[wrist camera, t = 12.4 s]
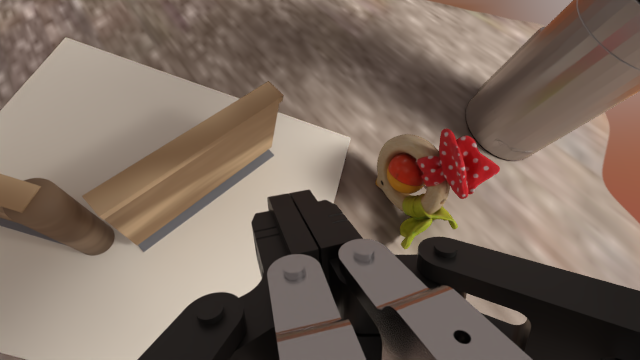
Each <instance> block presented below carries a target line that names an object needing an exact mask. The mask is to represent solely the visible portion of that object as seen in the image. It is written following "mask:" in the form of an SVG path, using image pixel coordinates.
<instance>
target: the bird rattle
mask: <svg viewBox="0 0 640 360" xmlns="http://www.w3.org/2000/svg"><path fill="white" fill-rule="evenodd" d="M499 170H500V168H499V166H498V165H496V164H495V163H494V162H493V161H491V160H490V159H488V158H487V157H485V156H484V155H482V154H481V153H480V152H479V151H478V149H477V145H476V142H475V140H474V139H473V138H472V137H469V136H463V137H460V138H458V139H457V140H456V138H455V136H454V134H453V132H452V131H451V130H449V129H444V130H442V132H441V136H440V145H439V151H438V150H437V149H436V148H435V147H434V146H433V145H432V144H431V143H429V142H428V141H427V140H425V139H423V138H421V137H419V136H415V135H409V134H405V135H400V136H397V137H394V138H392V139H390V140H389V141H387V142H386V143H385V144H384V146H383V147H382V149H381V151H380V154H379V157H378V163H377V171H378V177H377V179H376V185H377V186H378V187H379V188H381V189H382V190H383V191H384V193H385V195H386V196H387V197H388V199H389V200H390V201H391V202H392V203H393V204H394V205H395V206H396V207H397V208H399V209H400V210H401V211H403V212H404V213H405V214H406V215H408V216H411V218H408V219H406V220H405V221H403V223H402V224H401V226H400V234H401V235H402V236H404V237H406V238H405V239H404V240H403V241H402V243H401V245H402V247H403V248H404V249H407V248H408V247H409V246H410V244H411V242H412V240H413V239H414V237H415V236H416V235H418V234H420V233H421V232H423V231H425V230H426V229H427V228H428V227H429V226H430V225H431V223H432V220H435V219H443V220H448V221H449V223H450V225H451V227H452V228H453V229H456V228H457V227H458V226H457V224H456V222H455V221H454V219H453V218H452V216H451V215H450V214H449V213H448V212H447V211H446V210H445V209H444V208H443V207H442V206H443V204H444V203H445V201H446V199H447V197H448V194H449V189H450V186H451V188H452V190H453V191H454V192H455V193H456V194H457V195H458V197H459V198H461V199H464V198H466V197H467V196H468V194H472V193H473V192H474V190H475V188H476V187H477V186H478V185H479V184H481V183H482V182H484V181H485V180H487V179H489V178H491V177H492V176H494V175H496V174H497V173H498V172H499ZM425 185H426V186H425ZM423 186H424V188H425V189H427V191H426V194H421V195H417V196H411V195H409V194H411V193H414V192H417V191H418V190H420V189H421V188H422V187H423Z"/></svg>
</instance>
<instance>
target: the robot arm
mask: <svg viewBox="0 0 640 360" xmlns="http://www.w3.org/2000/svg"><path fill="white" fill-rule="evenodd" d="M639 91H640V0H573V1H572V2H571V3H570V4H569V5H568V6H567V7H566V8H565V9H564V10H563V11H562V12H561V13H560V14H559V15H558V16H557V17H556V18H554V20H552V21H551V22H550V24H548V25H547V26H546V27H542V28H540V29H539V30H538V31H537V32H536V33H535V34H534V35H533V36H532V37H531V38H530V39H529V40H528V41H527V42H526V43H525V44H524V45H523V46H522V47H521V48H520V49H519V50H518V51H517V52H516V53H515V54H514V55H513V56H512V57H511V58H510V59H509V60H508V61H507V62H506V63H505V64H504V65H503V66H502V67H501V68H500V69H499V70H498V71H497V72H495V73H494V74H493V75H492V76H491V77H490V78H489V79H488V80H487V81H486V82H485V83H484V84H483V85H482V86H481V87H480V88H479V93H478V94H477V95H476V96H475V97H473V98H472V100H471V101H470V102H469V103H468V106H467V109H466V119H467V124H468V126H469V129H470V131H471V133H472V134H473V136H474V138H475V139H476V140H477V141H478V143H479V144H480V145H481V146H483V147H484V148H485V149H486V150H487V151H489V152H490V153H492V154H493V155H495V156H497V157H500V158H502V159H506V160H512V161H518V160H523V159H525V158H527V157H529V156H531V155H532V154H534V153H536V152H537V151H539V150H541V149H543V148H544V147H546V146H548V145H549V144H551V143H553V142H555V141H556V140H558V139H560V138H562V137H563V136H565V135H567V134H568V133H570V132H572V131H573V130H575V129H577V128H578V127H580V126H582V125H584V124H585V123H587V122H589V121H590V120H592V119H594V118H595V117H597V116H599V115H601V114H602V113H604V112H606V111H607V110H609V109H611V108H612V107H614V106H616V105H618V104H619V103H621V102H623V101H624V100H626V99H628V98H629V97H631V96H633V95H634V94H636V93H637V92H639ZM267 202H268V210H269V211H265V212H260V213H255V215H254V218H253V220H252V222H251V224H252V230H253V237H254V243H255V250H256V256H257V261H258V265H259V269H260V274H261V277H262V279H261V281H260V282H259V284H258V285H257V286H256V287H255V288H254V289H253V290H251V291H250V292H248V293H247V294H245V295H243V296H241V297H239V298H238V297H237V296H235V295H234V294H231V293H227V292H216V293H211V294H207V295H204V296H202V297H200V298H198V299H196V300H195V301H193V302H192V303H191V304H189V305H188V306H187V307H186V308H185V309H184V310H183V311H182V312H181V314H180V315H179V316H178V317H177V318H176V319H175V320H174V321H173V322H172V323H171V324H170V325H169V326H168V327H167V329H166V330H165V331H164V332H163V333H162V334H161V335H160V336H159V337H158V338H157V339H156V340H155V341H154V342H153V343H152V345H151V346H150V347H149V348H148V349H147V350H146V351H145V352H144V353H143V354H142V355H141V356H140V357H139V358H138V359H137V360H640V291H638V290H634V289H631V288H627V287H624V286H620V285H616V284H613V283H609V282H606V281H602V280H598V279H595V278H591V277H588V276H584V275H580V274H577V273H573V272H570V271H566V270H562V269H559V268H555V267H552V266H548V265H544V264H541V263H537V262H534V261H530V260H526V259H523V258H519V257H516V256H512V255H508V254H505V253H501V252H498V251H494V250H490V249H487V248H483V247H480V246H476V245H473V244H469V243H465V242H462V241H458V240H455V239H451V238H446V237H431V238H427V239H425V240H423V241H422V242H421V243H420V244H419V246H418V255H394V254H393V253H392V252H391V251H390V250H389V249H388V248H387V247H386V246H384V245H383V244H381V243H380V242H377V241H374V240H370V239H363V238H362V237H361V235H360V234H359V233H358V232H357V230H356V229H355V228H354V227H353V225H352V224H351V223H350V222H349V220H347V218H346V217H345V215H344V214H343V213H342V211H341V210H340V209H339V208H338V206H337V205H335V204H333V203H331V202H329V201H327V200H322V201H317V199H316V198H315V196H314V195H313V194H312V192H311V191H310V190H303V191H298V192H292V193H289V194H288V193H286V194H281V195H276V196H270V197H267ZM467 293H468V294H470V295H473V296H476V297H479V298H482V299H485V300H487V301H490V302H493V303H496V304H499V305H501V306H504V307H507V308H510V309H513V310H516V311H518V312H520V313H522V314H523V315H525V316H526V317H527V321H526V322H525V323H524V324H522V325H512V324H509V323H506V322H503V321H501V320H498V319H495V318H493V317H490V316H487V315H485V314H482V313H480V312H479V311H478V310H477V309H475V308H474V307H473V306H472V305H471V304H470V303H469V302H468V301H466V300H465V299H466V294H467Z"/></svg>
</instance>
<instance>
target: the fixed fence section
mask: <svg viewBox="0 0 640 360" xmlns="http://www.w3.org/2000/svg"><path fill="white" fill-rule="evenodd" d="M0 218H3V219H6V220H9V221H13V222H16V223H19V224H22V225H24V226H26V227H29V228H31V229H33V230H35V231H37V232H39V233H41V234H43V235H46V236H48V237H50V238H52V239H54V240H56V241H58V242H60V243H63V244H65V245H67V246H69V247H71V248H73V249H75V250H77V251H80V252H82V253H84V254H86V255H91V256H94V255H99V254H102V253H104V252H106V251H107V250H108V249H109V248H110V247H111V246H112V244H113V242H114V239H115V234H114V231H113V229H112V228H111V227H110V226H109V225H107V224H106V223H105V222H103V221H102V220H101V219H100V218H98V217H97V216H96V215H94V214H93V213H92V212H90V211H89V210H88V209H87V208H85V207H84V206H83V205H81V204H80V203H79V202H78V201H76V200H75V199H74V198H72V197H71V196H70V195H68V194H67V193H66V192H65V191H63V190H62V189H61V188H59V187H58V186H57V185H56V184H54V183H53V182H51V181H50V180H47V179H43V178H31V179H27V180H24V181H22V180H19V179H16V178H13V177H10V176H6V175H3V174H0Z"/></svg>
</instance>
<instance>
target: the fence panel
mask: <svg viewBox="0 0 640 360" xmlns="http://www.w3.org/2000/svg"><path fill="white" fill-rule="evenodd" d="M283 96H284V95H283V94H282V93H281V92H280V91H278V90H277V89H276V88H275V87H274V86H273V85H272V84H271V83H270V82H269V81H268V82H266V83H265V84H263V85H261V86H260V87H258V88H257V89H255V90H253V91H252V92H250V93H248V94H247V95H245V96H244V97H242V98H240V99H239V100H237V101H235V102H234V103H232V104H230V105H229V106H227V107H226V108H224V109H222V110H221V111H219V112H217V113H216V114H214V115H213V116H211V117H209V118H208V119H206V120H204V121H203V122H201V123H200V124H198V125H196V126H195V127H193V128H191V129H190V130H188V131H187V132H185V133H183V134H182V135H180V136H178V137H177V138H175V139H174V140H172V141H170V142H169V143H167V144H165V145H164V146H162V147H161V148H159V149H157V150H156V151H154V152H152V153H151V154H149V155H148V156H146V157H144V158H143V159H141V160H139V161H138V162H136V163H135V164H133V165H131V166H130V167H128V168H126V169H125V170H123V171H122V172H120V173H118V174H117V175H115V176H113V177H112V178H110V179H109V180H107V181H105V182H104V183H102V184H100V185H99V186H97V187H96V188H94V189H92V190H91V191H89V192H87V193H86V194H84V195H83V196H82V197H83V198H84V199H85V201H86V202H87V203H88V204H89V205H90V207H91V208H92V209H93V210H94V211H95V213H96V214H97V215H98V216H99V217H100V218H101V219H102V220H105V221H106V222H108V223H109V224H110V225H112V226H113V227H114V228H115V229H117V230H118V231H119V232H120V233H122V234H123V235H124V236H125V237H127V238H128V239H129V240H130V241H132V242H133V243H134V244H136V245H139V244H140V243H141V242H143V241H144V240H146V239H147V238H148V237H150V236H151V235H152V234H154V233H155V232H156V231H158V230H159V229H161V228H162V227H163V226H165V225H166V224H167V223H169V222H170V221H171V220H173V219H174V218H176V217H177V216H178V215H180V214H181V213H182V212H184V211H185V210H186V209H188V208H189V207H191V206H192V205H193V204H195V203H196V202H197V201H199V200H200V199H201V198H203V197H204V196H205V195H207V194H208V193H210V192H211V191H212V190H214V189H215V188H216V187H218V186H219V185H220V184H222V183H223V182H225V181H226V180H227V179H229V178H230V177H231V176H233V175H234V174H235V173H237V172H238V171H240V170H241V169H242V168H244V167H245V166H246V165H248V164H249V163H250V162H252V161H253V160H255V159H256V158H257V157H259V156H260V155H261V154H263V153H264V152H265V151H267V150H268V149H270V148H271V147H272V142H273V136H274V130H275V125H276V119H277V113H278V107H279V103H280V102H281V101H283Z"/></svg>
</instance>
